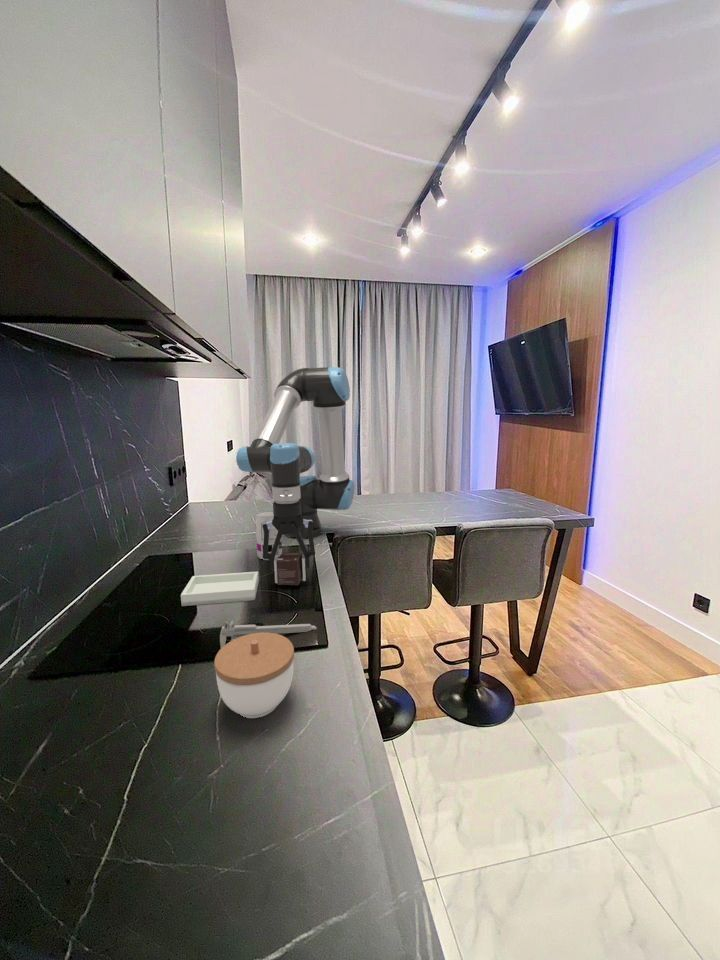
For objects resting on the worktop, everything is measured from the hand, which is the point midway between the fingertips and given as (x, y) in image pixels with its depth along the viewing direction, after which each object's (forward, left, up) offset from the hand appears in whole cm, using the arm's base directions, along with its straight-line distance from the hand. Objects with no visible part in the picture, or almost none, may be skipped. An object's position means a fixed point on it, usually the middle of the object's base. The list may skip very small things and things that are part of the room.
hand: (290, 579), depth 111 cm
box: (0, 0, -1) cm, 1 cm away
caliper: (+26, -4, -2) cm, 27 cm away
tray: (+1, -18, -2) cm, 18 cm away
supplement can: (-25, -7, -2) cm, 26 cm away
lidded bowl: (+45, -5, -2) cm, 46 cm away
